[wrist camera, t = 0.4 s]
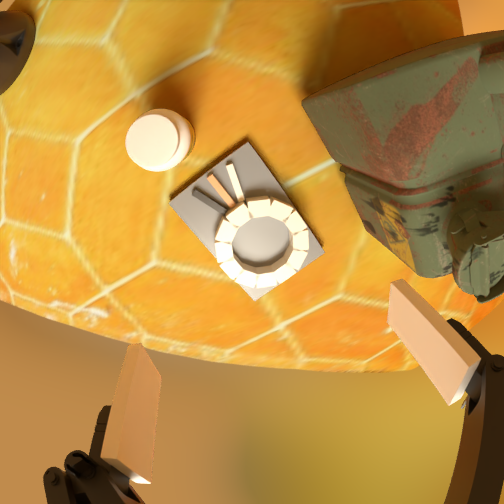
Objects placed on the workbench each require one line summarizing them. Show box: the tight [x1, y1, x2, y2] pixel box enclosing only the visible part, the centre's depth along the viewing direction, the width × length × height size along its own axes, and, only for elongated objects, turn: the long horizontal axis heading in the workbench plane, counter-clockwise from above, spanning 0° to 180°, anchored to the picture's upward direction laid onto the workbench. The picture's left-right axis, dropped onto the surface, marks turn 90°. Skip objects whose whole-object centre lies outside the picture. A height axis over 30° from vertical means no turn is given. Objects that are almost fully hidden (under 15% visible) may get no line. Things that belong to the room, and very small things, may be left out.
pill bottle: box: [126, 109, 195, 171], centre depth 26 cm, size 6×6×11 cm
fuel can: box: [302, 30, 504, 303], centre depth 21 cm, size 19×35×27 cm, turn 122°
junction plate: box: [169, 142, 325, 301], centre depth 35 cm, size 18×12×3 cm, turn 36°
